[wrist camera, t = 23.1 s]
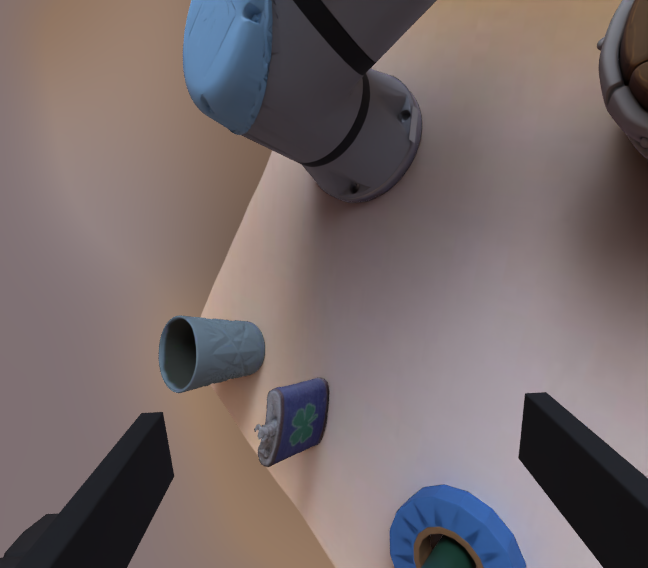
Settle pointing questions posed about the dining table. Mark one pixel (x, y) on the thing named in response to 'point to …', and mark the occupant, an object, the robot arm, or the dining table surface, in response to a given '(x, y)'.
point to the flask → (293, 420)
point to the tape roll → (451, 529)
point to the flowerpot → (627, 71)
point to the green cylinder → (449, 555)
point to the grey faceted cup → (208, 351)
